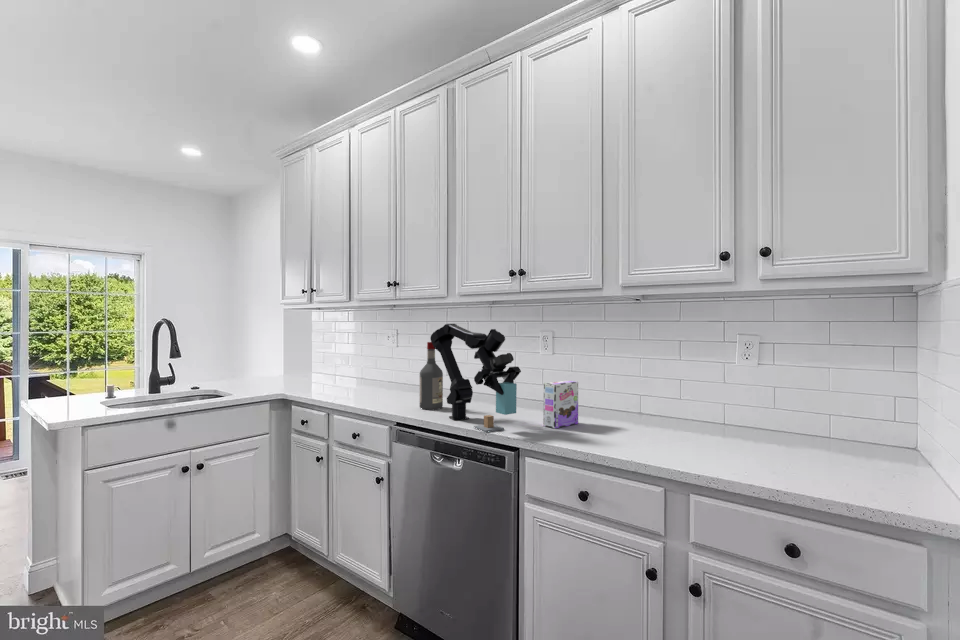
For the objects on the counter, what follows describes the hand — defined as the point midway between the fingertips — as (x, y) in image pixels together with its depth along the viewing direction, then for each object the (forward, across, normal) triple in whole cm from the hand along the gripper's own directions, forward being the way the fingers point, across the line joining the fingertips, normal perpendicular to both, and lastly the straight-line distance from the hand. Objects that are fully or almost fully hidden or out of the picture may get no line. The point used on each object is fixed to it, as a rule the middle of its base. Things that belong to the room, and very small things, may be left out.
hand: (508, 393), depth 167 cm
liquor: (-29, +4, +50) cm, 58 cm away
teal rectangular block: (+4, 0, +6) cm, 7 cm away
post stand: (+4, -3, +15) cm, 16 cm away
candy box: (+13, +23, +6) cm, 27 cm away
